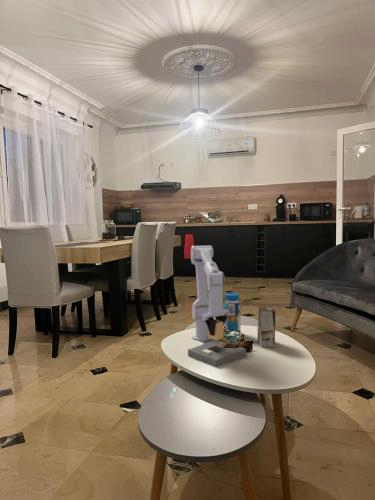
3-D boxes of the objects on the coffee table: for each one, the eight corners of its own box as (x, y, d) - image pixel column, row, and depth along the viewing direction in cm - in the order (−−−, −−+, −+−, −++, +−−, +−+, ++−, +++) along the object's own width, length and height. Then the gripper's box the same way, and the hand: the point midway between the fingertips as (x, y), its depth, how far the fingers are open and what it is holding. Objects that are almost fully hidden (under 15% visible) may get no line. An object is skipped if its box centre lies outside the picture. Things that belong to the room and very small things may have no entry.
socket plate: (217, 345, 161) (217, 337, 161) (245, 354, 149) (245, 346, 149) (188, 355, 149) (187, 347, 149) (216, 366, 137) (216, 358, 137)
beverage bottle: (220, 333, 178) (219, 293, 176) (232, 330, 183) (232, 291, 181) (232, 337, 171) (231, 296, 169) (244, 334, 176) (244, 293, 174)
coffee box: (275, 347, 157) (275, 311, 156) (260, 347, 157) (260, 311, 156) (271, 340, 166) (271, 306, 165) (257, 340, 167) (257, 306, 165)
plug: (214, 335, 152) (214, 318, 151) (223, 338, 148) (223, 321, 148) (207, 337, 149) (207, 320, 149) (216, 340, 145) (216, 323, 145)
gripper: (210, 306, 139) (210, 340, 141) (234, 300, 149) (234, 332, 150) (197, 303, 145) (198, 336, 146) (222, 297, 154) (222, 328, 155)
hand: (215, 333), depth 148 cm, fingers closed on plug, 4 cm apart
